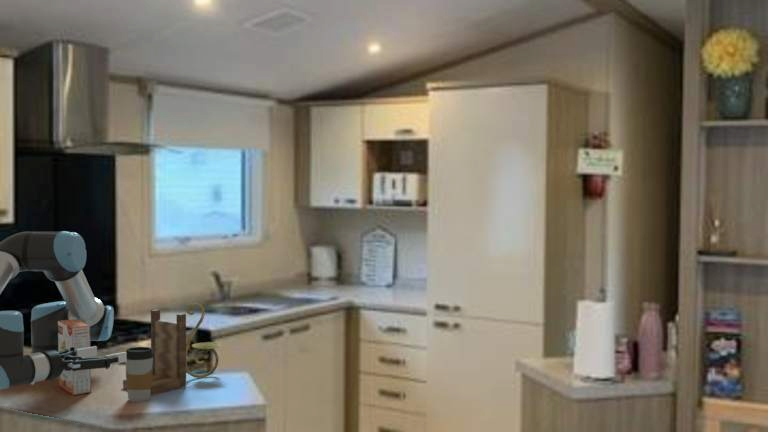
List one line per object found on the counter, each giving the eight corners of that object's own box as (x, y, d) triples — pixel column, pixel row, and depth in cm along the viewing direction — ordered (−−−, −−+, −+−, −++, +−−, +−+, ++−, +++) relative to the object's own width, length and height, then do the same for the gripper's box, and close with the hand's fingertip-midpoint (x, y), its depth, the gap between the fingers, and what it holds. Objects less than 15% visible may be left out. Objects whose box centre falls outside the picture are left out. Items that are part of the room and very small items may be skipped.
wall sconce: (186, 383, 267) (186, 306, 266) (174, 377, 275) (174, 302, 274) (226, 377, 276) (226, 302, 274) (213, 372, 283) (213, 298, 282)
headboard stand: (123, 387, 261) (122, 314, 260) (157, 379, 272) (156, 309, 271) (152, 395, 253) (151, 319, 252) (186, 386, 264) (185, 313, 263)
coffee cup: (128, 396, 252) (127, 346, 251) (156, 395, 253) (156, 346, 252) (121, 403, 244) (121, 352, 243) (150, 403, 244) (150, 352, 244)
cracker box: (57, 386, 262) (56, 320, 261) (77, 383, 266) (76, 318, 265) (71, 396, 251) (70, 327, 250) (91, 393, 255) (91, 324, 254)
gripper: (16, 374, 229) (84, 361, 247) (70, 387, 215) (138, 372, 232) (16, 346, 229) (84, 335, 246) (70, 358, 215) (138, 345, 232)
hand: (110, 353), depth 239 cm, fingers open, 13 cm apart
